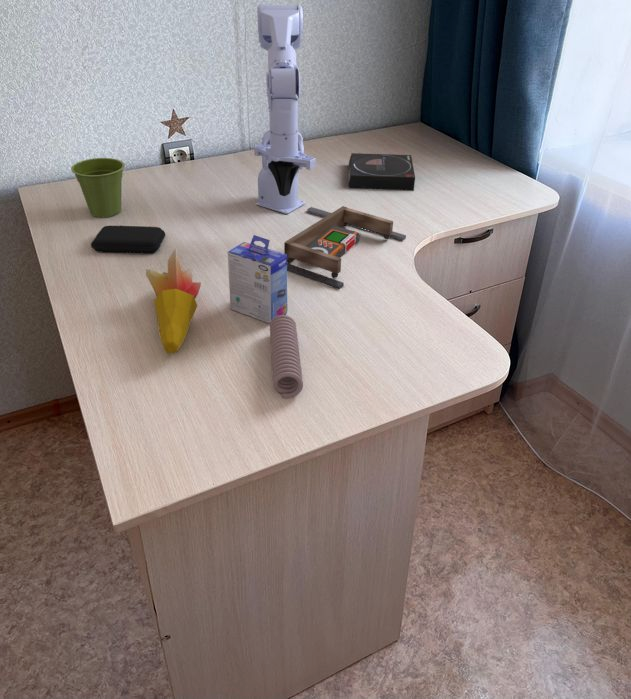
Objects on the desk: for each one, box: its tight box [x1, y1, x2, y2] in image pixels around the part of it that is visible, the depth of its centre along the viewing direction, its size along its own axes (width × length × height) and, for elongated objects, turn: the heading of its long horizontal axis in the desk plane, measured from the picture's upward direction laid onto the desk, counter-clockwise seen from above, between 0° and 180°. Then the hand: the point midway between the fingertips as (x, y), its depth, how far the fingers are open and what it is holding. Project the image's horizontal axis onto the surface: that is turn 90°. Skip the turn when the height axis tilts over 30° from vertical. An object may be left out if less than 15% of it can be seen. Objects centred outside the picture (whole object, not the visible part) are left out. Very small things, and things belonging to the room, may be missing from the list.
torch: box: [145, 247, 202, 355], centre depth 119 cm, size 8×8×25 cm
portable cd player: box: [347, 152, 416, 192], centre depth 178 cm, size 16×17×4 cm
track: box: [287, 206, 407, 290], centre depth 146 cm, size 26×28×1 cm
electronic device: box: [308, 225, 360, 267], centre depth 144 cm, size 7×3×15 cm
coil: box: [269, 314, 304, 399], centre depth 110 cm, size 5×5×18 cm
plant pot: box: [70, 157, 125, 218], centre depth 156 cm, size 12×12×11 cm
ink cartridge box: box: [227, 234, 288, 324], centre depth 120 cm, size 10×6×14 cm, turn 58°
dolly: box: [283, 206, 394, 279], centre depth 143 cm, size 13×23×4 cm, turn 145°
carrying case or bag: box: [90, 225, 166, 255], centre depth 145 cm, size 11×3×15 cm
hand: (284, 194), depth 143 cm, fingers closed
